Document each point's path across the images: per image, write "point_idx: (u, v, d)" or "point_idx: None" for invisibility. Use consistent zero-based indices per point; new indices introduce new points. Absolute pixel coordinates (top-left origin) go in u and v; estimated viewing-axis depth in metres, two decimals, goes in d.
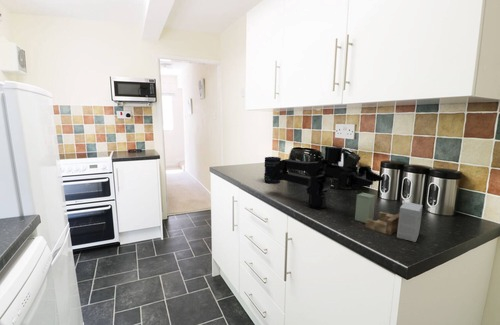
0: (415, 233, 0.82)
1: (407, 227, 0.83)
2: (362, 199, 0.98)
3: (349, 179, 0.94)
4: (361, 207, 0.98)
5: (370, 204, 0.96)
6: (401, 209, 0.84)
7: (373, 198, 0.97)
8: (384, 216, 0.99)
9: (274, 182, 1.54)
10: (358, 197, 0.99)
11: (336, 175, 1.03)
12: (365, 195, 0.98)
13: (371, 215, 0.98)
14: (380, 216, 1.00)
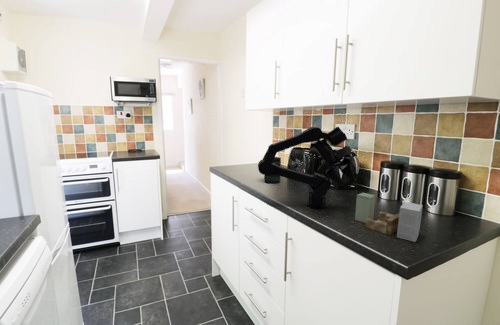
0: (415, 233, 0.82)
1: (407, 227, 0.83)
2: (362, 199, 0.98)
3: (328, 170, 1.01)
4: (361, 207, 0.98)
5: (370, 204, 0.96)
6: (401, 209, 0.84)
7: (373, 198, 0.97)
8: (384, 216, 0.99)
9: (274, 182, 1.54)
10: (358, 197, 0.99)
11: (322, 154, 1.08)
12: (365, 195, 0.98)
13: (371, 215, 0.98)
14: (380, 216, 1.00)
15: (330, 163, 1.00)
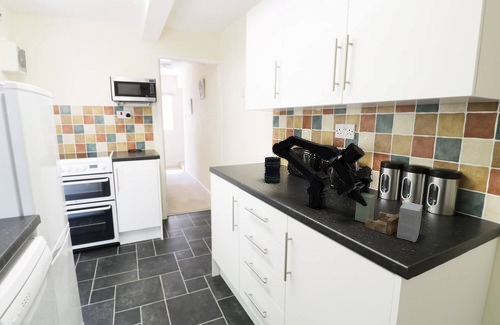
0: (415, 233, 0.82)
1: (407, 227, 0.83)
2: None
3: (351, 191, 0.97)
4: (361, 207, 0.98)
5: (370, 204, 0.96)
6: (401, 209, 0.84)
7: (373, 198, 0.97)
8: (384, 216, 0.99)
9: (274, 182, 1.54)
10: None
11: (340, 174, 1.03)
12: (365, 195, 0.98)
13: (371, 215, 0.98)
14: (380, 216, 1.00)
15: (350, 185, 0.95)
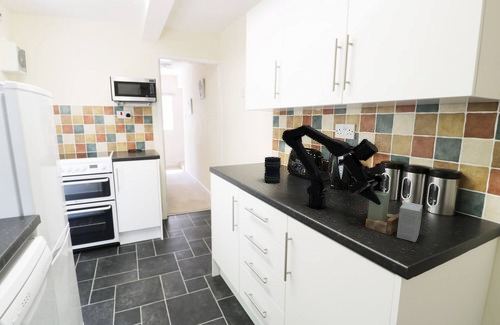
0: (415, 233, 0.82)
1: (407, 227, 0.83)
2: None
3: (364, 189, 0.93)
4: (374, 205, 0.94)
5: (384, 203, 0.92)
6: (401, 209, 0.84)
7: (387, 196, 0.93)
8: None
9: (274, 182, 1.54)
10: None
11: (352, 171, 0.99)
12: (379, 193, 0.94)
13: (385, 214, 0.94)
14: None
15: (364, 182, 0.91)
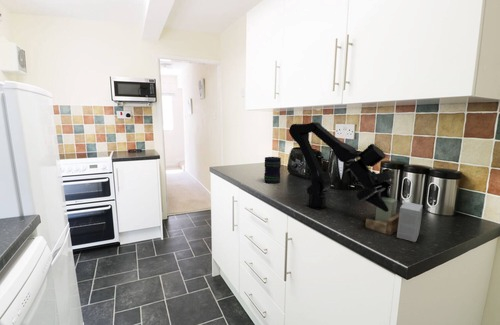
0: (415, 233, 0.82)
1: (407, 227, 0.83)
2: None
3: (371, 195, 0.91)
4: (382, 212, 0.92)
5: (392, 209, 0.90)
6: (401, 209, 0.84)
7: (395, 203, 0.92)
8: None
9: (274, 182, 1.54)
10: None
11: (359, 177, 0.97)
12: (386, 199, 0.92)
13: None
14: None
15: (372, 189, 0.89)
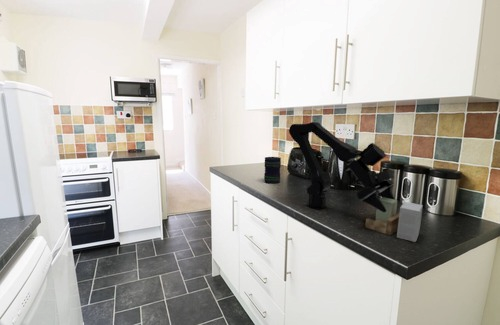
0: (415, 233, 0.82)
1: (407, 227, 0.83)
2: (383, 204, 0.92)
3: (369, 196, 0.90)
4: (382, 212, 0.92)
5: (392, 210, 0.90)
6: (401, 209, 0.84)
7: (395, 203, 0.92)
8: None
9: (274, 182, 1.54)
10: None
11: (359, 176, 0.97)
12: (386, 200, 0.92)
13: None
14: None
15: (372, 188, 0.89)
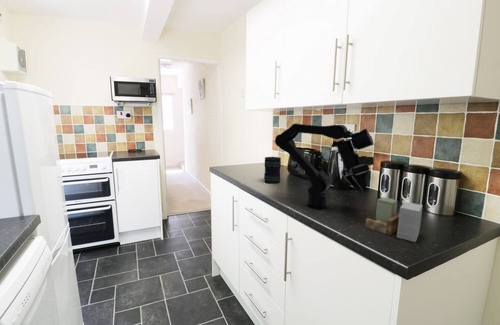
0: (415, 233, 0.82)
1: (407, 227, 0.83)
2: (383, 204, 0.92)
3: (362, 173, 0.96)
4: (382, 212, 0.92)
5: (392, 210, 0.90)
6: (401, 209, 0.84)
7: (395, 203, 0.92)
8: None
9: (274, 182, 1.54)
10: (379, 202, 0.93)
11: (348, 154, 1.02)
12: (386, 200, 0.92)
13: None
14: None
15: None
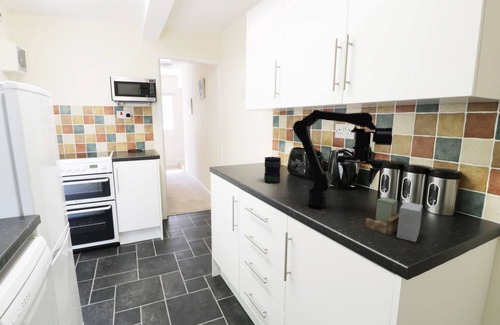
0: (415, 233, 0.82)
1: (407, 227, 0.83)
2: (383, 204, 0.92)
3: None
4: (382, 212, 0.92)
5: (392, 210, 0.90)
6: (401, 209, 0.84)
7: (395, 203, 0.92)
8: None
9: (274, 182, 1.54)
10: (379, 202, 0.93)
11: (368, 146, 1.02)
12: (386, 200, 0.92)
13: None
14: None
15: None
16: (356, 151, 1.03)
